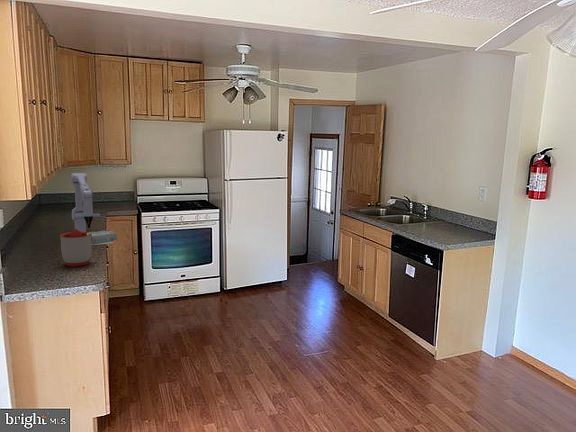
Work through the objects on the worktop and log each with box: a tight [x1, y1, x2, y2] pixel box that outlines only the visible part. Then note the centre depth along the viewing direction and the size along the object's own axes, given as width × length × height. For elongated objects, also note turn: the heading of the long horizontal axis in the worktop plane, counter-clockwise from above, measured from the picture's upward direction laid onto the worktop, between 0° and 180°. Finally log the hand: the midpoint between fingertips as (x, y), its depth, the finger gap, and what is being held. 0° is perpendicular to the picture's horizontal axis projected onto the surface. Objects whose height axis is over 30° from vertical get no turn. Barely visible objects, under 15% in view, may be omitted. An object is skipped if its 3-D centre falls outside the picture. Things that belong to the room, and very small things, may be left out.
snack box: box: [86, 229, 118, 244], centre depth 301 cm, size 21×6×15 cm
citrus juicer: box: [59, 228, 94, 268], centre depth 246 cm, size 16×17×20 cm
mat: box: [91, 241, 114, 246], centre depth 298 cm, size 16×26×1 cm, turn 118°
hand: (88, 227), depth 305 cm, fingers closed
